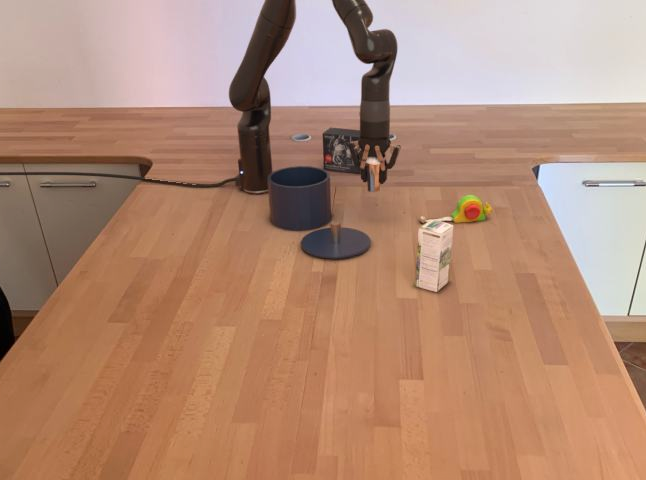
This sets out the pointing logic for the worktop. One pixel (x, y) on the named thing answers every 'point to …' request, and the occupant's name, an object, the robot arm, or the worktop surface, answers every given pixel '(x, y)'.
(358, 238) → the tin lid
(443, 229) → the syrup box
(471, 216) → the toy measuring tape
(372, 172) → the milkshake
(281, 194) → the tin
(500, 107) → the worktop surface
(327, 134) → the small box
